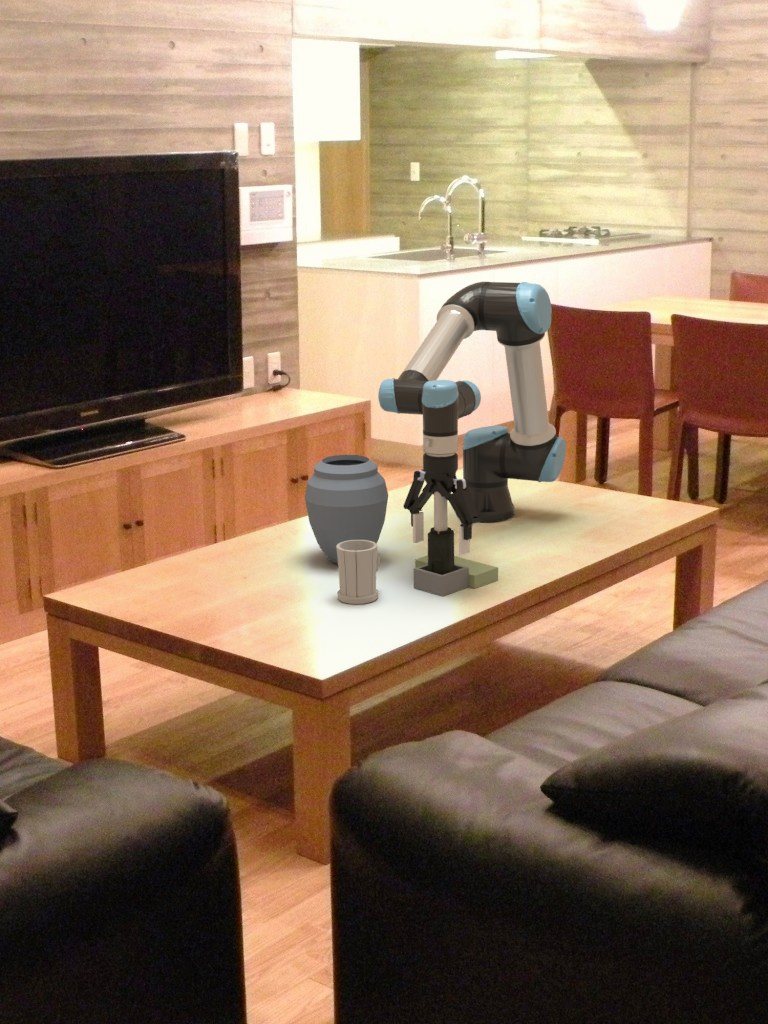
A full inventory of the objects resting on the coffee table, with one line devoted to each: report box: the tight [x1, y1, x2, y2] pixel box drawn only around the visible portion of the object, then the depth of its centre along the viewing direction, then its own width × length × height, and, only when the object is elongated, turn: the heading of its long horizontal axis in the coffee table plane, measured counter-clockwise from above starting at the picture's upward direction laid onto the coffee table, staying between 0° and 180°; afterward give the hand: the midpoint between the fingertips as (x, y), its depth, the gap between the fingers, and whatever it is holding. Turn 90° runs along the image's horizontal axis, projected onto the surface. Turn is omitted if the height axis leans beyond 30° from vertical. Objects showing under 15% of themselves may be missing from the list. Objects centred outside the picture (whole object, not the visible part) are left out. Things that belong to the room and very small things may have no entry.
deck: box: [413, 555, 499, 597], centre depth 310 cm, size 18×17×4 cm
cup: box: [336, 540, 381, 605], centre depth 298 cm, size 10×9×12 cm
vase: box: [304, 454, 389, 565], centre depth 323 cm, size 20×20×24 cm
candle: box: [427, 492, 455, 575], centre depth 302 cm, size 5×5×25 cm
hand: (441, 547), depth 303 cm, fingers open, 13 cm apart
